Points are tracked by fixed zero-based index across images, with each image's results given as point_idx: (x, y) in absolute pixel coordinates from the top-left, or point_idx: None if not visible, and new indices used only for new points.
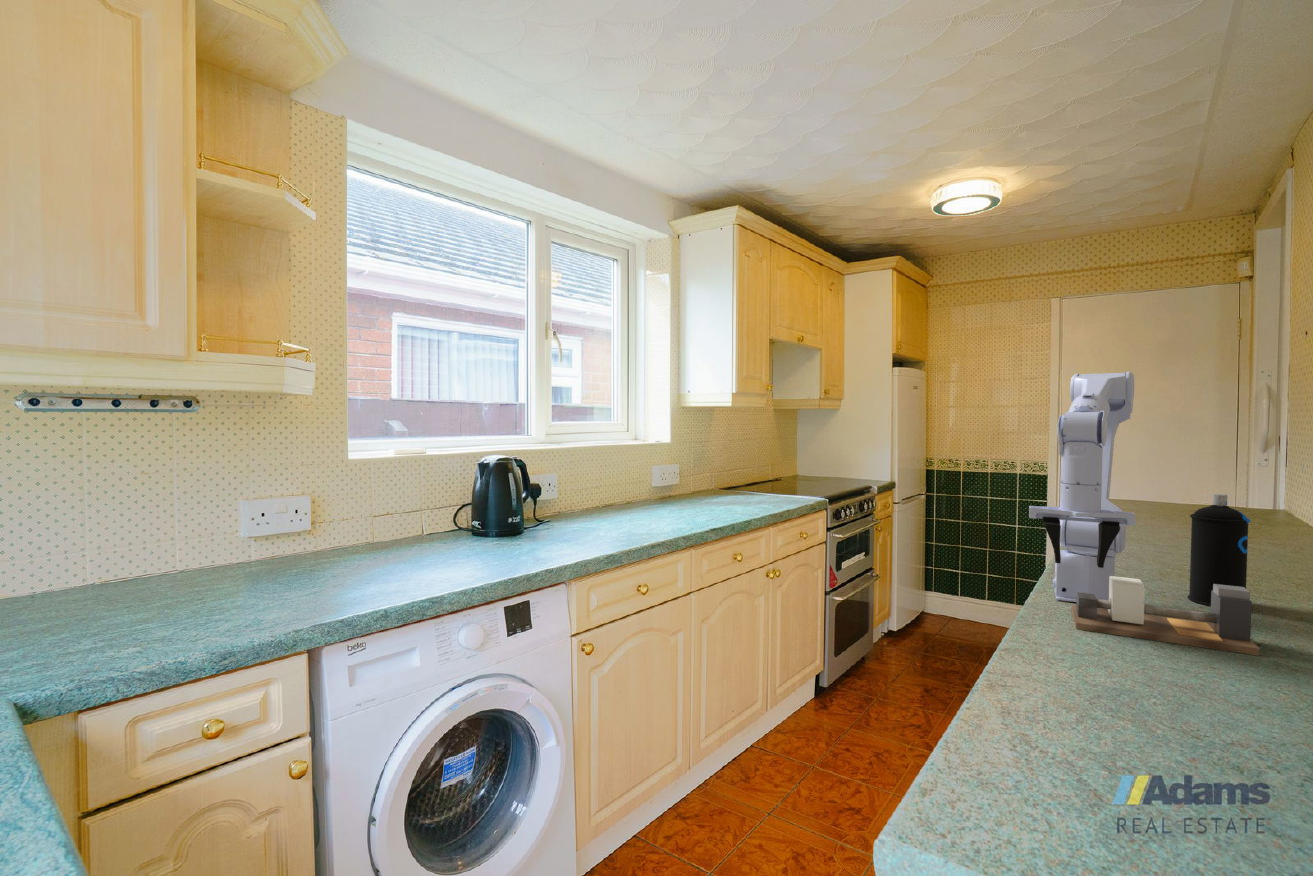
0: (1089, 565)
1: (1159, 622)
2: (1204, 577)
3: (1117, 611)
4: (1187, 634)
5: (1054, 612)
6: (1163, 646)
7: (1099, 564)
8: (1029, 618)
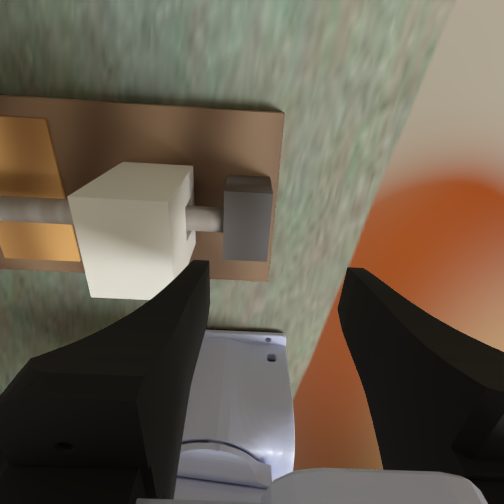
0: (217, 412)
1: None
2: (3, 460)
3: (176, 171)
4: (27, 130)
5: (307, 243)
6: (86, 50)
7: (203, 263)
8: (383, 159)
